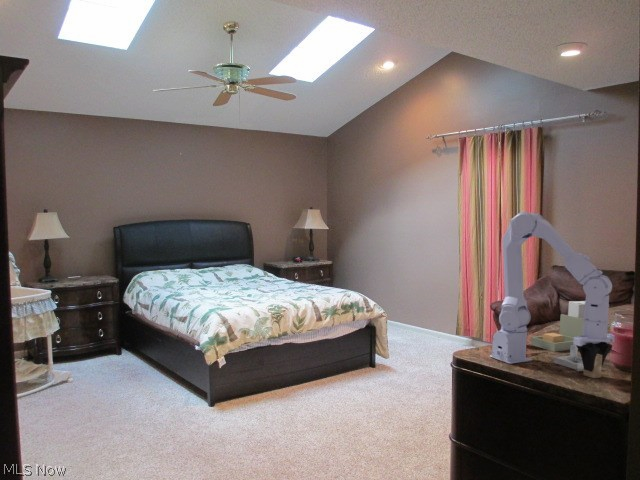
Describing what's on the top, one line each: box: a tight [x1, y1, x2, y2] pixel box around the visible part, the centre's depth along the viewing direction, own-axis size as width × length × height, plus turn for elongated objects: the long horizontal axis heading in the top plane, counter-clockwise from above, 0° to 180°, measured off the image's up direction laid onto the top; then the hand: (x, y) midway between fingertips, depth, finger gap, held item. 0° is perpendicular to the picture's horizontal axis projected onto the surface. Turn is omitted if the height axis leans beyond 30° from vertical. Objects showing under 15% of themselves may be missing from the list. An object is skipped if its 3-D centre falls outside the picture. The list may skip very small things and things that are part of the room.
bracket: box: [553, 345, 584, 372], centre depth 143 cm, size 8×8×5 cm
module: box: [542, 332, 564, 343], centre depth 164 cm, size 5×4×4 cm
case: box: [530, 313, 584, 353], centre depth 165 cm, size 15×9×10 cm, turn 117°
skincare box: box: [567, 300, 586, 337], centre depth 170 cm, size 8×6×15 cm
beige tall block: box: [582, 354, 603, 379], centre depth 134 cm, size 3×3×6 cm
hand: (592, 369), depth 134 cm, fingers closed on beige tall block, 3 cm apart
